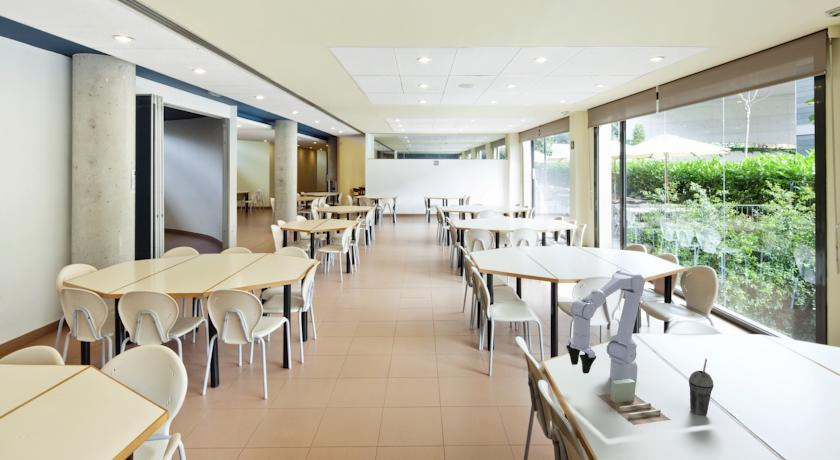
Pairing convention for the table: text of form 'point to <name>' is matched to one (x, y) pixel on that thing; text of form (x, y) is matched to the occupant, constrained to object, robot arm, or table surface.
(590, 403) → the table surface
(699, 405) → the beverage cup
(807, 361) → the table surface
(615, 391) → the door panel
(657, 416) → the track base
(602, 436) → the table surface
